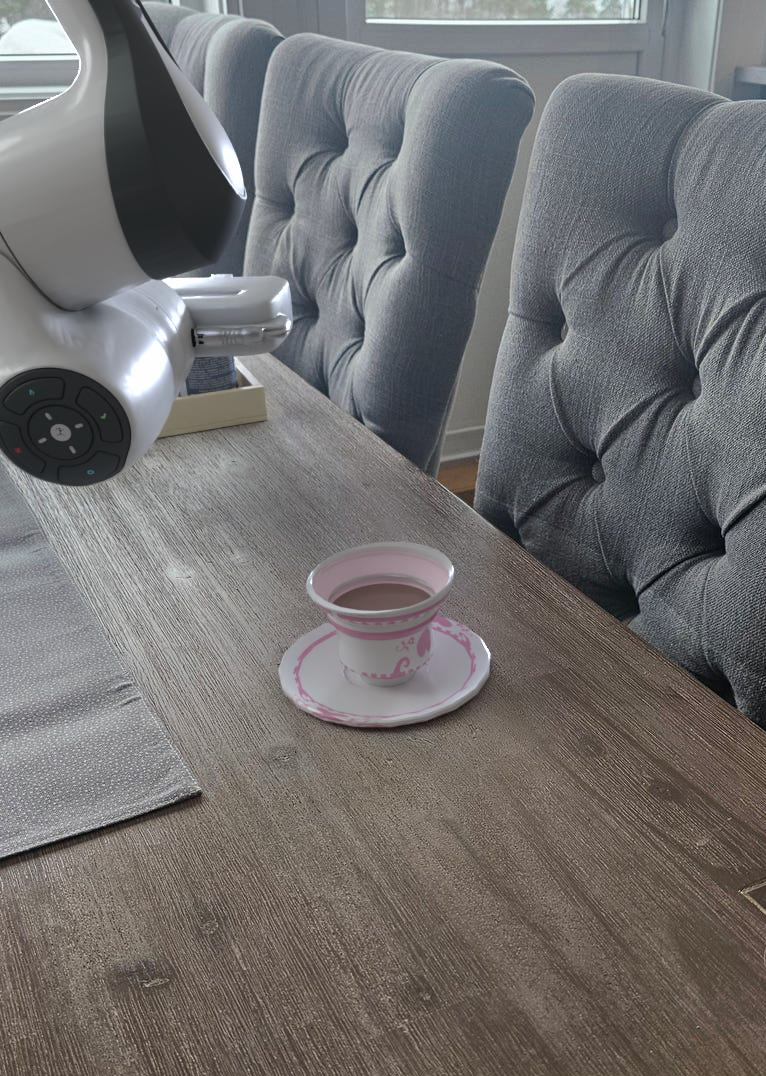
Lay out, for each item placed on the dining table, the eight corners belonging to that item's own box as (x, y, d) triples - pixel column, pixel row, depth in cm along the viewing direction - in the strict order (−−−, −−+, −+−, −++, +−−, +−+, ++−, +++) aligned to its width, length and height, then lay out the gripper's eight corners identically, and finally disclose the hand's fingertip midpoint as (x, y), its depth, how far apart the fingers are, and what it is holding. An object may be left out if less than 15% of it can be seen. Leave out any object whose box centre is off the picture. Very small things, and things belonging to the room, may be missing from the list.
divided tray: (61, 394, 105) (54, 363, 104) (225, 370, 111) (221, 340, 109) (85, 450, 93) (78, 415, 92) (268, 420, 99) (264, 386, 97)
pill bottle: (252, 404, 100) (239, 303, 95) (203, 420, 97) (187, 316, 92) (217, 391, 103) (203, 293, 98) (169, 406, 100) (151, 305, 95)
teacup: (419, 756, 57) (413, 653, 54) (234, 695, 62) (219, 596, 59) (527, 647, 66) (528, 552, 62) (358, 601, 71) (350, 511, 67)
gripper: (281, 286, 70) (297, 238, 81) (-54, 295, 69) (10, 245, 80) (292, 385, 73) (305, 326, 85) (-28, 395, 72) (30, 333, 84)
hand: (159, 286), depth 83 cm, fingers open, 8 cm apart
